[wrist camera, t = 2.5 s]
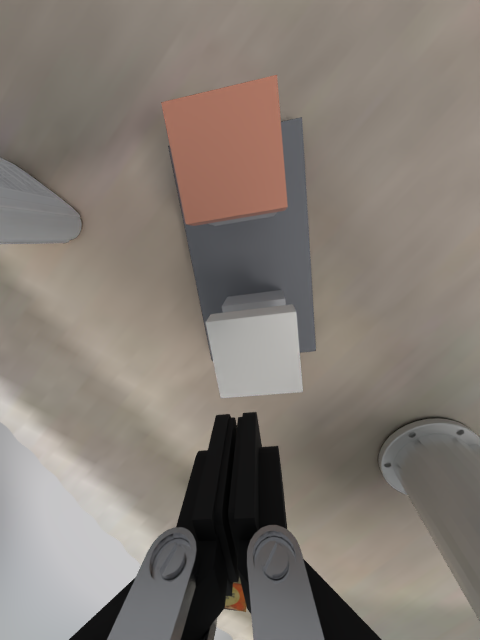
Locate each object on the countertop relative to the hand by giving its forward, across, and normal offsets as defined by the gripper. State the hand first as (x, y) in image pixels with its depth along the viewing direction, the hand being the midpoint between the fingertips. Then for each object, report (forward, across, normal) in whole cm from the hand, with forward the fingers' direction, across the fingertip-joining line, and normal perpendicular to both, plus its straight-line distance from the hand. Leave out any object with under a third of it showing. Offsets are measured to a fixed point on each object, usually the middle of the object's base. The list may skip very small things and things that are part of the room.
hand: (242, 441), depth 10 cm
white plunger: (+14, -1, +1) cm, 14 cm away
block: (+20, -1, -6) cm, 20 cm away
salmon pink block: (+14, -1, -12) cm, 19 cm away
